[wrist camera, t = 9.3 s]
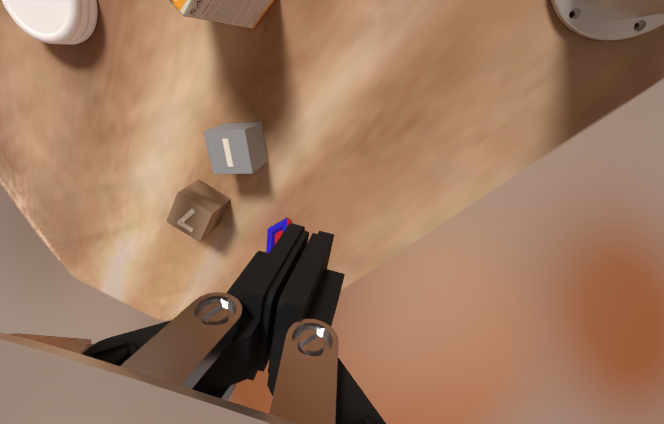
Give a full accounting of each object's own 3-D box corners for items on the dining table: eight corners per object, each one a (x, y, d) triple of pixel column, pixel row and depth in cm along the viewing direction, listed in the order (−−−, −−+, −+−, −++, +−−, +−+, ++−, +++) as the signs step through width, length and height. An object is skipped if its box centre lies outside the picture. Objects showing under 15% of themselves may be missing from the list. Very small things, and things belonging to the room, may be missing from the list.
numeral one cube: (262, 121, 41) (244, 129, 36) (268, 161, 43) (252, 173, 38) (224, 123, 42) (202, 131, 37) (232, 161, 44) (212, 174, 39)
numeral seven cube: (230, 198, 46) (211, 214, 42) (218, 224, 49) (199, 242, 44) (199, 179, 46) (176, 193, 42) (188, 206, 48) (166, 222, 44)
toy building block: (287, 242, 49) (287, 290, 44) (267, 228, 47) (264, 278, 41) (306, 232, 48) (308, 280, 43) (287, 217, 45) (286, 267, 40)
